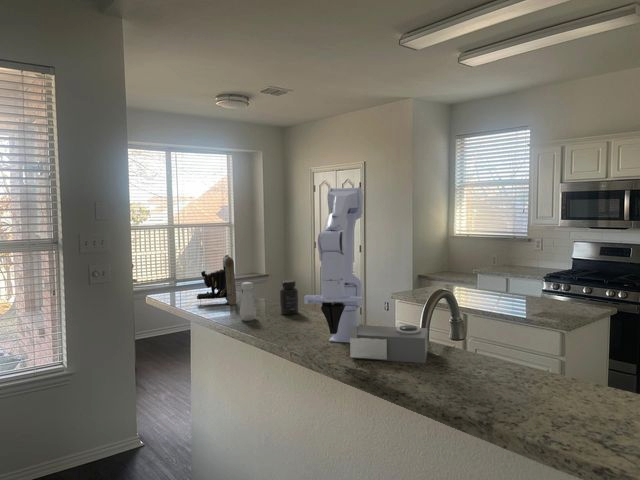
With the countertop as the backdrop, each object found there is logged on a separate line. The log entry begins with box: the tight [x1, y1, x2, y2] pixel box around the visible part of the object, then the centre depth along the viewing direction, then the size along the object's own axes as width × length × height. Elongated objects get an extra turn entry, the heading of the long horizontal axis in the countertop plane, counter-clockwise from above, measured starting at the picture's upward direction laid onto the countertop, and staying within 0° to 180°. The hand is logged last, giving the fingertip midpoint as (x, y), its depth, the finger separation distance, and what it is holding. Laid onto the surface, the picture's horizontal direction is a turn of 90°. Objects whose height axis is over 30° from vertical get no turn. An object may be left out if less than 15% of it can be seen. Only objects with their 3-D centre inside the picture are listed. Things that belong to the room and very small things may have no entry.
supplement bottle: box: [279, 279, 300, 316], centre depth 170 cm, size 7×7×12 cm
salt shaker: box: [239, 281, 257, 322], centre depth 161 cm, size 6×6×13 cm
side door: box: [349, 325, 387, 361], centre depth 113 cm, size 1×9×8 cm, turn 74°
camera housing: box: [351, 324, 429, 364], centre depth 118 cm, size 10×18×7 cm, turn 74°
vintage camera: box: [196, 254, 237, 306], centre depth 190 cm, size 10×16×20 cm, turn 107°
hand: (333, 333), depth 116 cm, fingers closed
